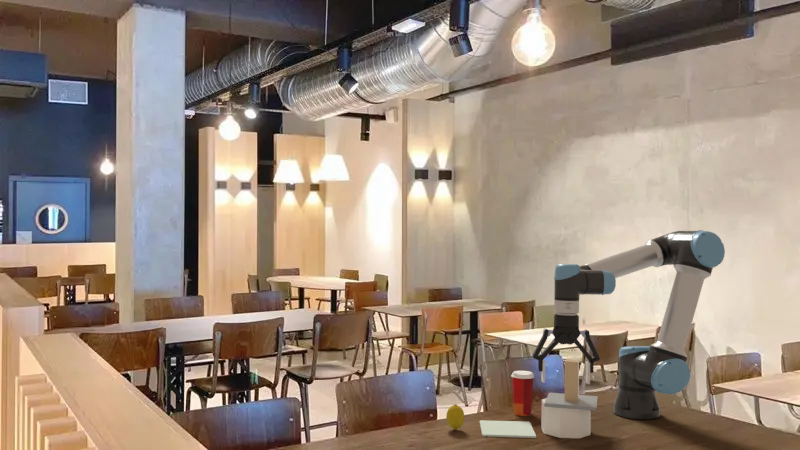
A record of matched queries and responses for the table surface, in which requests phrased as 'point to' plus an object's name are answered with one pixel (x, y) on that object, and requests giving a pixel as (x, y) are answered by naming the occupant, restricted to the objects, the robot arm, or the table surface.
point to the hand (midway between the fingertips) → (565, 382)
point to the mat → (507, 429)
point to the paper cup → (522, 392)
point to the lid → (571, 391)
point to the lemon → (455, 417)
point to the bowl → (565, 422)
